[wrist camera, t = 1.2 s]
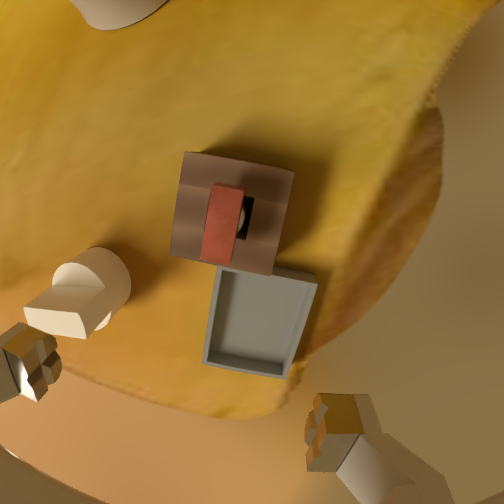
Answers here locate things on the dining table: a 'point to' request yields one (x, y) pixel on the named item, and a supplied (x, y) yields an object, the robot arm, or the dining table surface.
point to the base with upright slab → (81, 295)
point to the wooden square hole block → (257, 186)
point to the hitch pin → (223, 222)
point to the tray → (257, 320)
